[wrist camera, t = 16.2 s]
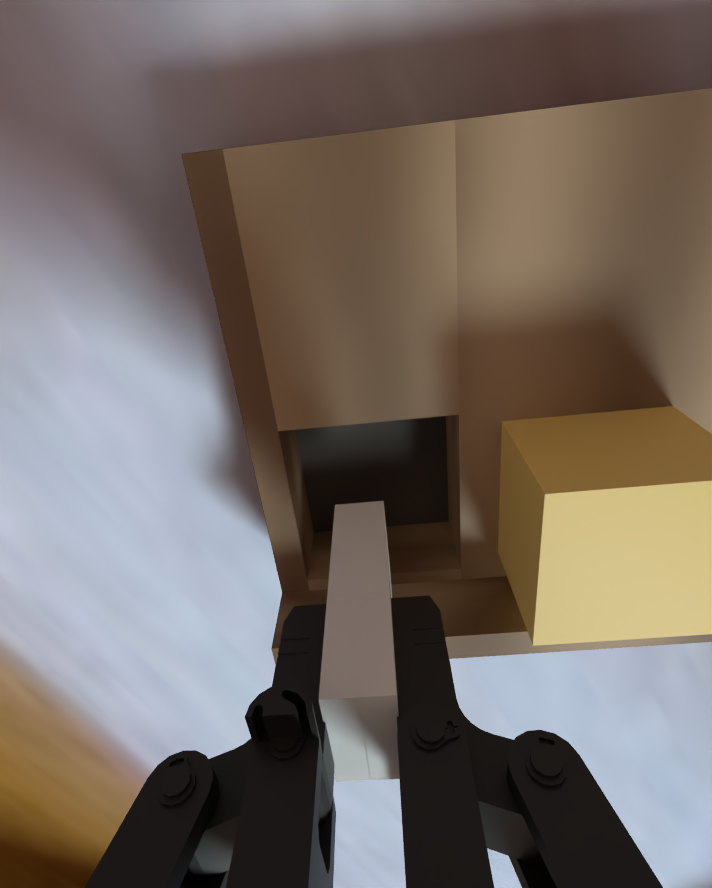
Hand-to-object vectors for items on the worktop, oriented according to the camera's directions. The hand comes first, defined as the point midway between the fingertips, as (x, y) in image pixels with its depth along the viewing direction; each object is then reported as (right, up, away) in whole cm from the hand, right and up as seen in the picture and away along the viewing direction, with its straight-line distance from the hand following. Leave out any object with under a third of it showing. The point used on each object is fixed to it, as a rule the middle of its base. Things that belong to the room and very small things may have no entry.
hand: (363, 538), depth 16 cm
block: (+7, +2, 0) cm, 7 cm away
